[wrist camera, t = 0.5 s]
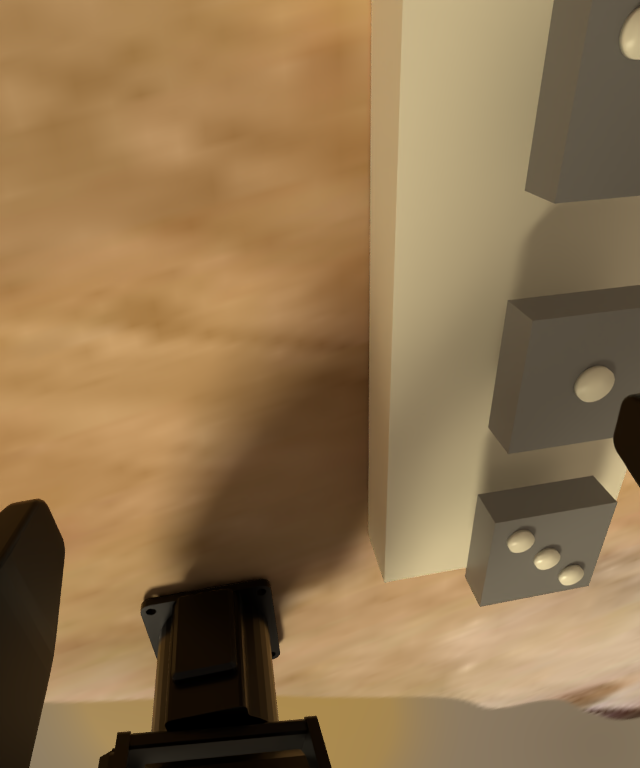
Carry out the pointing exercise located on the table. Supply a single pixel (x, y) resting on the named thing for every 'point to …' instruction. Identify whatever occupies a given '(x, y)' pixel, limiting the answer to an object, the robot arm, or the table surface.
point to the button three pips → (537, 539)
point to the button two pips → (588, 104)
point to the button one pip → (565, 368)
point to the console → (464, 268)
